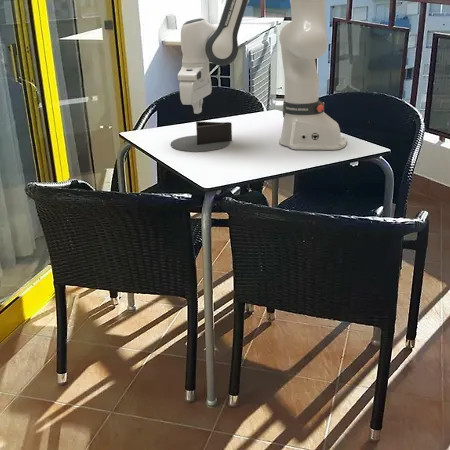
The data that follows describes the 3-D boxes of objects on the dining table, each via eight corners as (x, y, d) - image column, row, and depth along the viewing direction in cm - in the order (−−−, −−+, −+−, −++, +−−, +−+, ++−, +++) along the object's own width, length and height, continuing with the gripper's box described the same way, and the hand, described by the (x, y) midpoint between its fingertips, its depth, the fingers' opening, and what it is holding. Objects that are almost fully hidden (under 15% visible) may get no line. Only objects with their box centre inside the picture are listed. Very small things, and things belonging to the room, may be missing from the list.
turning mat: (236, 138, 223) (236, 136, 223) (218, 153, 206) (218, 152, 206) (183, 135, 229) (183, 133, 229) (161, 149, 212) (161, 148, 212)
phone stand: (197, 144, 214) (232, 143, 215) (196, 127, 212) (232, 126, 213) (196, 138, 223) (231, 136, 223) (196, 121, 221) (230, 120, 221)
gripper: (197, 65, 218) (199, 105, 224) (175, 75, 200) (177, 119, 206) (215, 66, 216) (216, 106, 222) (193, 76, 199) (196, 120, 204)
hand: (197, 112), depth 214 cm, fingers closed
